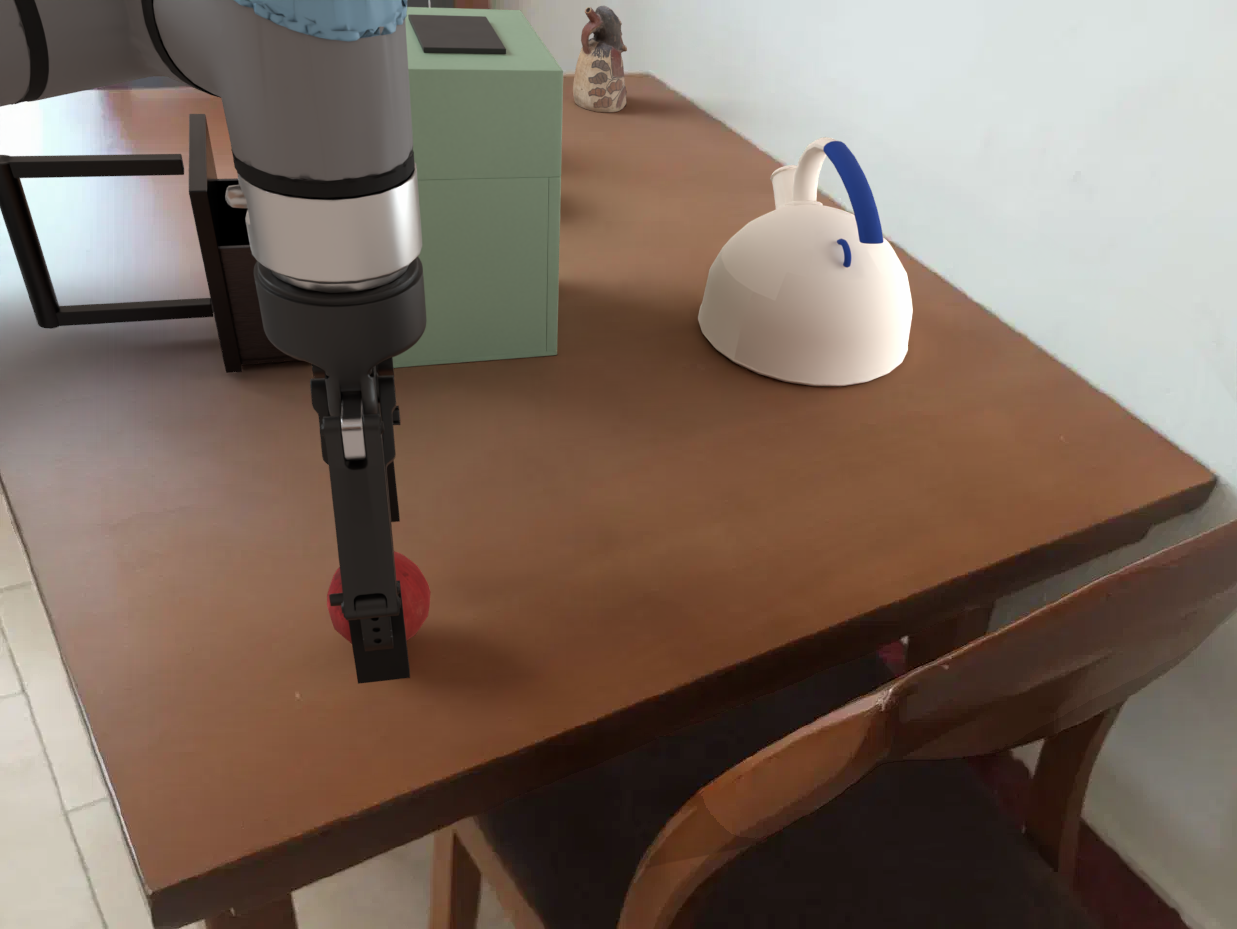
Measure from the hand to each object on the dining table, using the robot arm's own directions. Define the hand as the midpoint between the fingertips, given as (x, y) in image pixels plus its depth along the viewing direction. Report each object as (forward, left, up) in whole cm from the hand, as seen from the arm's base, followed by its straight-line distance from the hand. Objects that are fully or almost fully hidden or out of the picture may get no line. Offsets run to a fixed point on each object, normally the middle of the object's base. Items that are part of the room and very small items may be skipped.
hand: (380, 592), depth 64 cm
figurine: (-22, +99, -5) cm, 102 cm away
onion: (0, 0, -5) cm, 5 cm away
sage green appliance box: (-14, +38, -4) cm, 41 cm away
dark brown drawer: (-29, +28, -4) cm, 40 cm away
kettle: (+16, +51, -5) cm, 54 cm away
